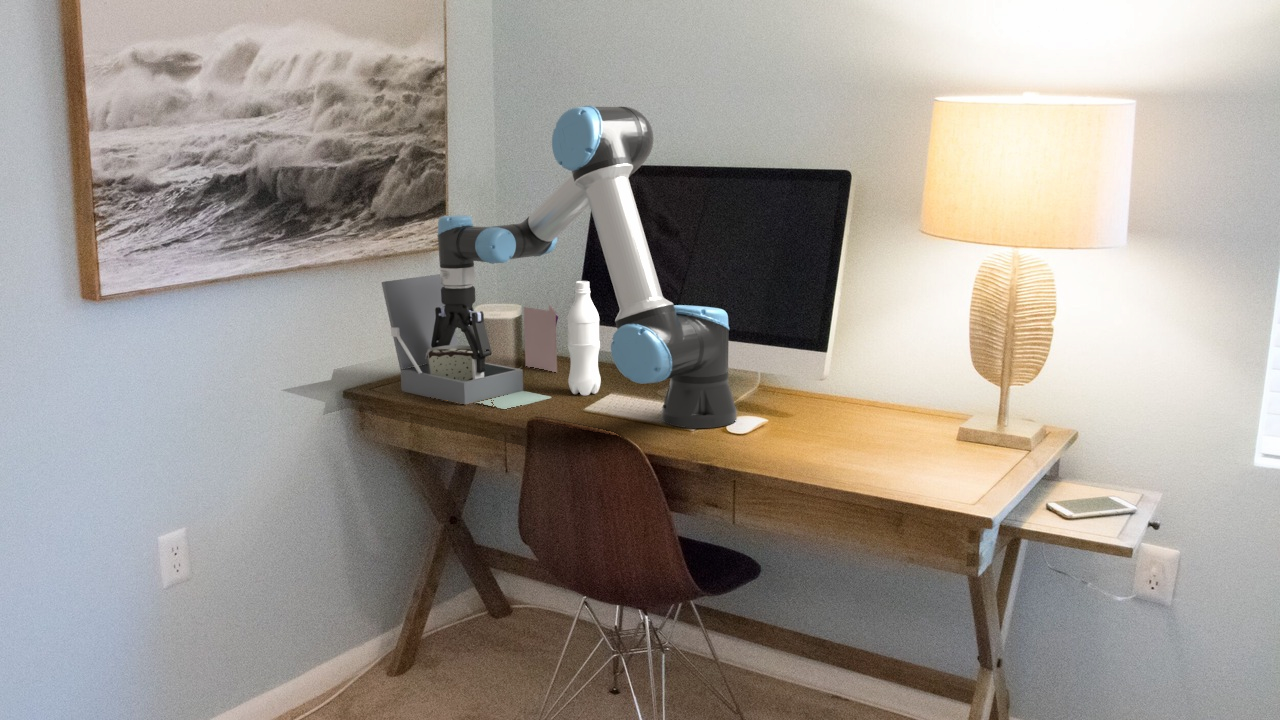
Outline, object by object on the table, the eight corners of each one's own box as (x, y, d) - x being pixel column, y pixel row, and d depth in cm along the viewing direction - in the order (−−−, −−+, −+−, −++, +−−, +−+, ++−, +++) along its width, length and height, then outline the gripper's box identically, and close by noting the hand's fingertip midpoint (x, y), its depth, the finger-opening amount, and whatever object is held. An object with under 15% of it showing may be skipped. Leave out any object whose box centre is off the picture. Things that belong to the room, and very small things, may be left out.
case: (523, 391, 254) (519, 282, 249) (464, 405, 242) (459, 291, 237) (445, 374, 272) (440, 273, 267) (386, 387, 259) (380, 281, 254)
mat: (551, 398, 248) (551, 396, 248) (503, 410, 237) (503, 408, 237) (523, 392, 254) (523, 390, 254) (475, 403, 243) (475, 402, 243)
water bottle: (582, 398, 247) (579, 285, 242) (562, 392, 252) (559, 281, 247) (607, 393, 252) (605, 281, 247) (587, 387, 257) (585, 278, 252)
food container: (486, 387, 258) (485, 344, 256) (481, 393, 252) (479, 350, 250) (433, 387, 259) (431, 344, 257) (427, 393, 253) (424, 349, 251)
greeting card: (560, 372, 273) (559, 311, 270) (530, 374, 271) (528, 312, 268) (554, 363, 284) (552, 304, 281) (524, 364, 282) (522, 305, 279)
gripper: (411, 283, 255) (417, 379, 259) (479, 292, 240) (483, 393, 244) (438, 279, 260) (442, 373, 265) (505, 288, 245) (509, 387, 250)
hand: (462, 383), depth 255 cm, fingers closed on food container, 11 cm apart
